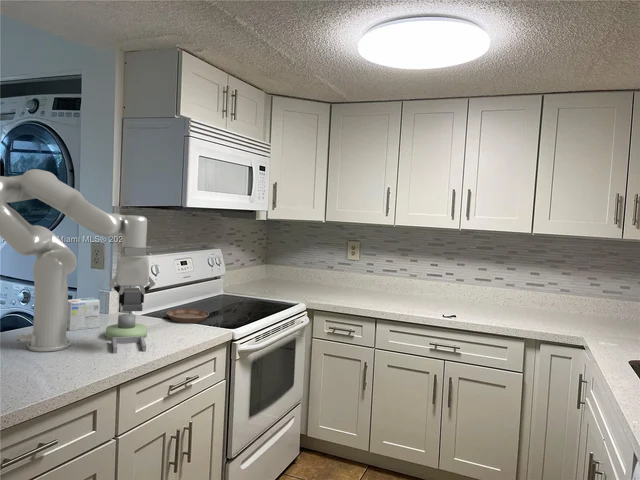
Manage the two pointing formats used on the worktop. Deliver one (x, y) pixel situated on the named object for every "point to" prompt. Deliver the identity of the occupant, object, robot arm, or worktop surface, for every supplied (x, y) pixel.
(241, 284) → the worktop surface
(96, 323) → the light bulb box
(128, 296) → the grey sliding block
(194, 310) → the plant saucer
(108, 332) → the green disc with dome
